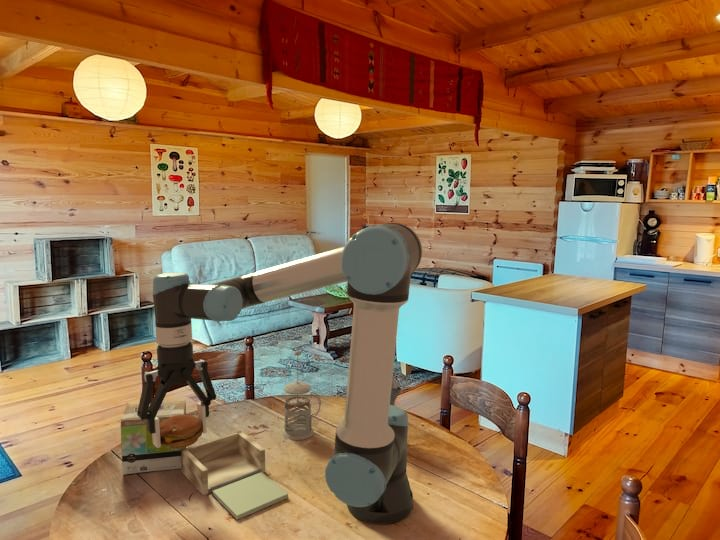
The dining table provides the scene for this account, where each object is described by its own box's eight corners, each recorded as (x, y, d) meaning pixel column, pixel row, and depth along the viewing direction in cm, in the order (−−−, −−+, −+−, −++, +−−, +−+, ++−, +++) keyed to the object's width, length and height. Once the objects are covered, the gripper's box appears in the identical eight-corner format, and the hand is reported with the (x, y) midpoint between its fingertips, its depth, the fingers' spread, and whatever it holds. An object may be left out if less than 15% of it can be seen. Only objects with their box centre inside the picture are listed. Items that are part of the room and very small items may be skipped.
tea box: (122, 477, 127) (118, 420, 125) (128, 457, 137) (125, 404, 135) (186, 468, 131) (184, 414, 129) (187, 450, 141) (185, 398, 139)
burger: (200, 426, 123) (198, 408, 122) (205, 443, 114) (204, 424, 114) (155, 435, 119) (154, 416, 118) (157, 453, 110) (156, 433, 110)
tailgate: (288, 497, 120) (287, 492, 119) (236, 519, 111) (236, 513, 111) (259, 473, 130) (259, 468, 129) (210, 492, 121) (210, 486, 121)
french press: (284, 424, 158) (283, 345, 154) (322, 425, 157) (322, 346, 153) (278, 439, 148) (277, 355, 144) (318, 440, 147) (318, 356, 144)
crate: (265, 471, 131) (264, 449, 130) (203, 495, 120) (202, 471, 119) (240, 451, 140) (240, 430, 140) (181, 471, 130) (180, 449, 129)
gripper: (126, 357, 104) (134, 461, 107) (229, 336, 118) (233, 428, 121) (115, 349, 109) (123, 448, 112) (214, 330, 124) (218, 418, 127)
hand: (180, 438), depth 117 cm, fingers closed on burger, 10 cm apart
